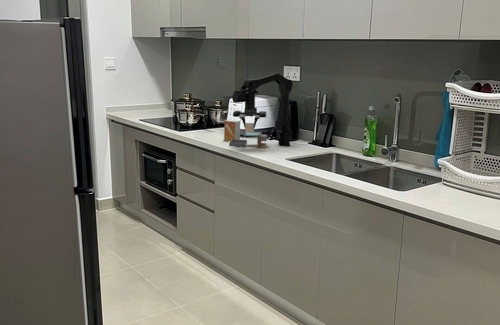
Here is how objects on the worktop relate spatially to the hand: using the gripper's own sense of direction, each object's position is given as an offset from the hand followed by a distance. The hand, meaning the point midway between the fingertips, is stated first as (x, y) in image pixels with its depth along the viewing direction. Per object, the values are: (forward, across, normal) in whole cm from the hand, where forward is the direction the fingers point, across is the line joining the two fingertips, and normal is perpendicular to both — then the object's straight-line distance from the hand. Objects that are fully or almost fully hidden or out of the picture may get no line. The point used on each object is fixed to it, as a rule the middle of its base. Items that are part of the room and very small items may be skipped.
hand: (249, 128), depth 277 cm
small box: (+12, -12, +22) cm, 28 cm away
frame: (+12, +7, +9) cm, 16 cm away
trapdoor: (+8, +3, +9) cm, 13 cm away
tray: (+12, -7, +9) cm, 17 cm away
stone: (+1, 0, 0) cm, 1 cm away
